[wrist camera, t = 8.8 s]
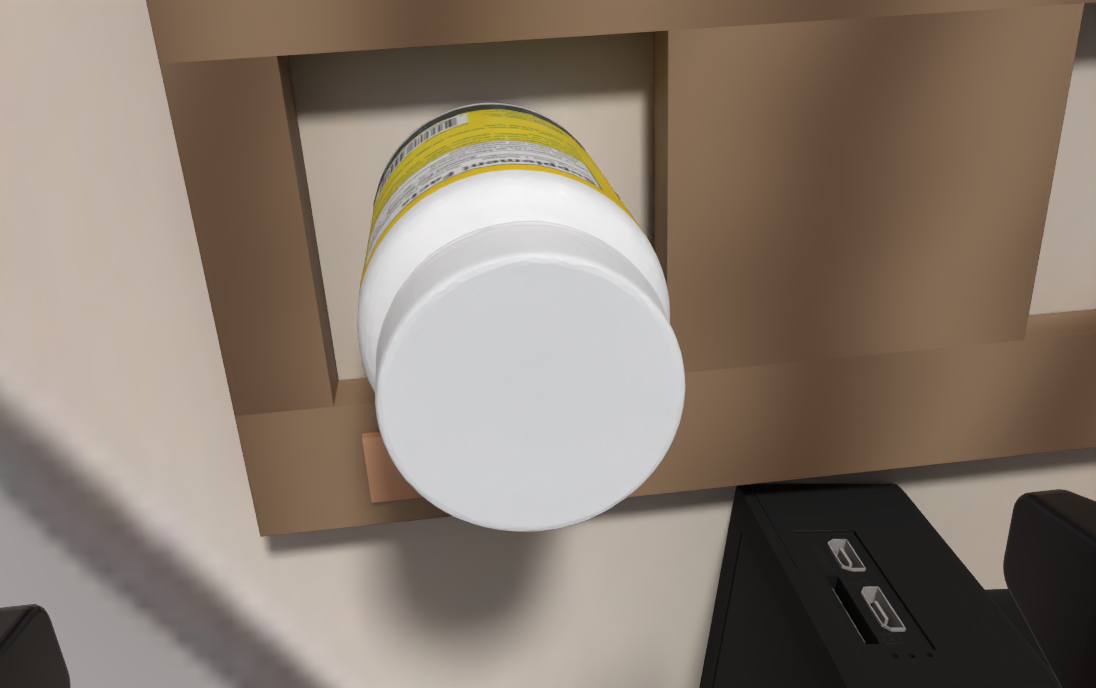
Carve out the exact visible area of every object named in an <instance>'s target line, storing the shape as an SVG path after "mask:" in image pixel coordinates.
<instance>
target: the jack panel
mask: <svg viewBox="0 0 1096 688" xmlns="http://www.w3.org/2000/svg"><path fill="white" fill-rule="evenodd" d="M146 2H147V7H148V12H149V17H150V21H151V26H152V31H153V35H154V40H155V45H156V49H157V54H158V59H159V63H160V68H161V73H162V77H163V82H164V87H165V91H166V96H167V101H168V106H169V110H170V115H171V120H172V124H173V129H174V134H175V138H176V143H177V148H178V152H179V157H180V162H181V166H182V171H183V176H184V180H185V185H186V190H187V194H188V199H189V204H190V209H191V213H192V218H193V223H194V227H195V232H196V237H197V241H198V246H199V251H200V255H201V260H202V265H203V269H204V274H205V279H206V283H207V288H208V293H209V298H210V302H211V307H212V312H213V316H214V321H215V326H216V330H217V335H218V340H219V344H220V349H221V354H222V358H223V363H224V368H225V372H226V377H227V382H228V387H229V391H230V396H231V401H232V405H233V410H234V415H235V419H236V424H237V429H238V433H239V438H240V443H241V447H242V452H243V457H244V461H245V466H246V471H247V475H248V480H249V485H250V490H251V494H252V499H253V504H254V508H255V513H256V518H257V522H258V527H259V532H260V536H261V537H262V536H271V535H281V534H290V533H299V532H308V531H318V530H327V529H336V528H346V527H355V526H364V525H374V524H383V523H392V522H402V521H411V520H420V519H430V518H439V517H448V516H452V515H450V514H448V513H446V512H444V511H443V510H441V509H439V508H438V507H436V506H435V505H433V504H432V503H431V502H429V501H428V500H426V499H425V498H424V497H423V496H422V495H420V494H419V493H418V492H417V491H416V490H415V489H414V488H413V487H412V486H411V485H410V484H409V483H408V482H407V481H406V480H405V478H404V477H403V476H402V474H401V473H400V471H399V470H398V469H397V467H396V466H395V464H394V463H393V461H392V459H391V457H390V456H389V453H388V451H387V449H386V447H385V445H384V443H383V440H382V437H381V434H380V430H379V427H378V422H377V416H376V407H375V392H374V390H373V388H372V386H371V384H370V382H369V381H368V378H361V379H351V380H340V381H339V380H338V374H337V367H336V361H335V355H334V348H333V342H332V336H331V329H330V323H329V317H328V310H327V304H326V298H325V291H324V285H323V279H322V273H321V266H320V260H319V254H318V247H317V241H316V235H315V228H314V222H313V216H312V209H311V203H310V197H309V190H308V184H307V178H306V171H305V165H304V159H303V152H302V146H301V140H300V133H299V127H298V121H297V114H296V108H295V102H294V95H293V89H292V83H291V76H290V70H289V64H288V58H287V55H300V54H315V53H330V52H346V51H361V50H376V49H392V48H407V47H422V46H438V45H453V44H468V43H484V42H499V41H514V40H530V39H545V38H561V37H576V36H591V35H607V34H622V33H637V32H653V31H654V251H655V253H656V255H657V257H658V260H659V263H660V265H661V268H662V271H663V274H664V277H665V281H666V285H667V289H668V295H669V304H670V325H671V327H672V329H673V331H674V333H675V336H676V339H677V341H678V345H679V348H680V351H681V354H682V359H683V365H684V372H685V398H684V407H683V411H682V416H681V420H680V424H679V426H678V429H677V432H676V434H675V437H674V439H673V441H672V443H671V445H670V447H669V449H668V451H667V453H666V455H665V456H664V458H663V460H662V461H661V462H660V464H659V465H658V466H657V468H656V469H655V470H654V472H653V473H652V474H651V475H650V476H649V477H648V478H647V479H646V481H645V482H644V483H643V484H642V485H641V486H640V487H639V488H637V489H636V490H635V491H634V492H633V493H631V494H630V495H629V496H628V497H635V496H644V495H653V494H663V493H672V492H681V491H691V490H700V489H709V488H719V487H728V486H737V485H747V484H756V483H765V482H775V481H784V480H793V479H803V478H812V477H821V476H830V475H840V474H849V473H858V472H868V471H877V470H886V469H896V468H905V467H914V466H924V465H933V464H942V463H952V462H961V461H970V460H980V459H989V458H998V457H1008V456H1017V455H1026V454H1036V453H1045V452H1054V451H1064V450H1073V449H1082V448H1091V447H1096V309H1094V310H1083V311H1073V312H1062V313H1051V314H1041V315H1030V316H1028V315H1029V310H1030V304H1031V299H1032V293H1033V287H1034V282H1035V276H1036V271H1037V265H1038V260H1039V254H1040V248H1041V243H1042V237H1043V232H1044V226H1045V221H1046V215H1047V209H1048V204H1049V198H1050V193H1051V187H1052V181H1053V176H1054V170H1055V165H1056V159H1057V154H1058V148H1059V142H1060V137H1061V131H1062V126H1063V120H1064V114H1065V109H1066V103H1067V98H1068V92H1069V87H1070V81H1071V75H1072V70H1073V64H1074V59H1075V53H1076V47H1077V42H1078V36H1079V31H1080V25H1081V20H1082V14H1083V8H1084V3H1096V0H146Z"/></svg>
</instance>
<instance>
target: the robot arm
mask: <svg viewBox="0 0 1096 688" xmlns="http://www.w3.org/2000/svg"><path fill="white" fill-rule="evenodd" d="M1003 570H1004V577H1005V581H1006V584H1007V587H1008V589H1009V591H1010V593H1011V595H1012V597H1013V599H1014V601H1015V603H1016V605H1017V606H1018V608H1019V610H1020V612H1021V614H1022V616H1023V618H1024V619H1025V621H1026V623H1027V625H1028V627H1029V629H1030V631H1031V633H1032V634H1033V636H1034V638H1035V640H1036V642H1037V644H1038V646H1039V648H1040V649H1041V651H1042V653H1043V655H1044V657H1045V659H1046V661H1047V662H1048V664H1049V666H1050V668H1051V670H1052V672H1053V674H1054V676H1055V677H1056V679H1057V681H1058V683H1059V685H1060V687H1061V688H1096V501H1093V500H1091V499H1088V498H1086V497H1083V496H1080V495H1078V494H1075V493H1073V492H1070V491H1067V490H1060V489H1058V490H1048V491H1040V492H1031V493H1025V494H1024V495H1022V496H1020V497H1019V498H1018V500H1017V501H1016V503H1015V505H1014V509H1013V514H1012V519H1011V524H1010V530H1009V535H1008V540H1007V545H1006V551H1005V556H1004V563H1003ZM0 688H70V677H69V673H68V670H67V667H66V664H65V661H64V658H63V655H62V652H61V649H60V646H59V643H58V640H57V637H56V634H55V632H54V628H53V626H52V622H51V620H50V617H49V615H48V614H47V612H46V611H45V609H44V608H42V607H41V606H38V605H36V604H30V605H21V606H12V607H4V608H0Z"/></svg>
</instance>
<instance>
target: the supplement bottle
mask: <svg viewBox="0 0 1096 688" xmlns="http://www.w3.org/2000/svg"><path fill="white" fill-rule="evenodd" d="M357 326H358V339H359V346H360V353H361V358H362V363H363V366H364V369H365V372H366V375H367V378H368V381H369V382H370V384H371V386H372V388H373V390H374V392H375V407H376V416H377V422H378V427H379V430H380V434H381V437H382V440H383V443H384V445H385V447H386V449H387V451H388V453H389V456H390V457H391V459H392V461H393V463H394V464H395V466H396V467H397V469H398V470H399V471H400V473H401V474H402V476H403V477H404V478H405V480H406V481H407V482H408V483H409V484H410V485H411V486H412V487H413V488H414V489H415V490H416V491H417V492H418V493H419V494H420V495H422V496H423V497H424V498H425V499H426V500H428V501H429V502H431V503H432V504H433V505H435V506H436V507H438V508H439V509H441V510H443V511H444V512H446V513H448V514H450V515H452V516H454V517H456V518H458V519H460V520H463V521H466V522H469V523H471V524H475V525H479V526H483V527H487V528H492V529H497V530H504V531H514V532H516V531H523V532H533V531H544V530H551V529H558V528H562V527H566V526H569V525H573V524H576V523H579V522H583V521H586V520H588V519H590V518H592V517H594V516H596V515H599V514H601V513H603V512H605V511H606V510H608V509H610V508H612V507H613V506H614V505H616V504H617V503H619V502H620V501H622V500H624V499H625V498H627V497H628V496H629V495H630V494H631V493H633V492H634V491H635V490H636V489H637V488H639V487H640V486H641V485H642V484H643V483H644V482H645V481H646V479H647V478H648V477H649V476H650V475H651V474H652V473H653V472H654V470H655V469H656V468H657V466H658V465H659V464H660V462H661V461H662V460H663V458H664V456H665V455H666V453H667V451H668V449H669V447H670V445H671V443H672V441H673V439H674V437H675V434H676V432H677V429H678V426H679V424H680V420H681V416H682V411H683V407H684V398H685V372H684V365H683V359H682V354H681V351H680V348H679V345H678V341H677V339H676V336H675V333H674V331H673V329H672V327H671V325H670V304H669V295H668V289H667V285H666V281H665V277H664V274H663V271H662V268H661V265H660V263H659V260H658V257H657V255H656V253H655V251H654V249H653V247H652V245H651V243H650V242H649V240H648V238H647V237H646V235H645V234H644V232H643V231H642V229H641V228H640V226H639V225H638V223H637V222H636V221H635V220H634V218H633V217H632V215H631V214H630V212H629V211H628V210H627V208H626V207H625V206H624V204H623V203H622V201H621V199H620V198H619V196H618V195H617V194H616V193H615V192H614V190H613V189H612V187H611V186H610V184H609V183H608V181H607V180H606V178H605V177H604V176H603V174H602V173H601V171H600V170H599V169H598V167H597V166H596V164H595V163H594V161H593V160H592V159H591V157H590V156H589V155H588V153H587V152H586V151H585V149H584V148H583V147H582V146H581V144H580V143H579V142H578V141H577V140H576V139H575V138H574V137H573V136H572V135H571V134H570V133H569V132H568V131H567V130H565V129H564V128H563V127H562V126H560V125H559V124H557V123H556V122H554V121H553V120H551V119H550V118H548V117H546V116H544V115H542V114H540V113H537V112H535V111H533V110H530V109H527V108H524V107H520V106H516V105H510V104H503V103H479V104H472V105H467V106H462V107H459V108H455V109H452V110H450V111H447V112H444V113H442V114H440V115H438V116H436V117H434V118H432V119H430V120H429V121H427V122H425V123H424V124H423V125H421V126H420V127H419V128H417V129H416V130H415V131H414V132H413V133H411V134H410V135H409V136H408V137H407V138H406V139H405V140H404V141H403V142H402V144H401V145H400V146H399V147H398V149H397V150H396V151H395V153H394V154H393V155H392V157H391V159H390V160H389V162H388V164H387V166H386V168H385V170H384V172H383V175H382V177H381V179H380V183H379V185H378V189H377V193H376V196H375V200H374V209H373V217H372V223H371V229H370V236H369V240H368V247H367V252H366V258H365V263H364V268H363V273H362V278H361V284H360V291H359V304H358V320H357Z"/></svg>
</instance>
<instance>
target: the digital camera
mask: <svg viewBox="0 0 1096 688" xmlns="http://www.w3.org/2000/svg"><path fill="white" fill-rule="evenodd" d="M750 486H751V487H750ZM751 488H752V489H753V491H754V492H753V491H752V489H751ZM754 493H755V494H754ZM755 495H756V496H757V498H758V499H757V498H756V496H755ZM758 500H759V501H758ZM759 502H760V503H761V505H762V506H761V505H760V503H759ZM762 507H763V508H762ZM763 509H764V510H765V512H766V513H765V512H764V510H763ZM766 514H767V515H766ZM767 516H768V517H769V519H770V520H769V519H768V517H767ZM770 521H771V522H770ZM771 523H772V524H771ZM772 525H773V526H774V527H773V526H772ZM774 528H775V529H774ZM775 530H776V531H775ZM776 532H777V533H778V534H777V533H776ZM778 535H779V536H778ZM779 537H780V538H779ZM780 539H781V540H780ZM782 542H783V543H782ZM783 544H784V545H783ZM784 546H785V547H784ZM786 549H787V550H786ZM787 551H788V552H787ZM788 553H789V554H788ZM700 688H1061V687H1060V685H1059V683H1058V681H1057V679H1056V677H1055V676H1054V674H1053V672H1052V670H1051V668H1050V666H1049V664H1048V662H1047V661H1046V659H1045V657H1044V655H1043V653H1042V651H1041V649H1040V648H1039V646H1038V644H1037V642H1036V640H1035V638H1034V636H1033V634H1032V633H1031V631H1030V629H1029V627H1028V625H1027V623H1026V621H1025V619H1024V618H1023V616H1022V614H1021V612H1020V610H1019V608H1018V606H1017V605H1016V603H1015V601H1014V599H1013V597H1012V595H1011V593H1010V591H1009V589H995V590H984V588H983V587H982V586H981V585H980V584H979V582H978V581H977V580H976V579H975V577H974V576H973V575H972V574H971V573H970V571H969V570H968V569H967V568H966V566H965V565H964V564H963V563H962V562H961V560H960V559H959V558H958V557H957V555H956V554H955V553H954V552H953V551H952V549H951V548H950V547H949V546H948V544H947V543H946V542H945V541H944V540H943V538H942V537H941V536H940V535H939V534H938V532H937V531H936V530H935V529H934V527H933V526H932V525H931V524H930V523H929V521H928V520H927V519H926V518H925V516H924V515H923V514H922V513H921V512H920V510H919V509H918V508H917V507H916V505H915V504H914V503H913V502H912V501H911V499H910V498H909V497H908V496H907V494H906V493H905V492H904V491H903V490H902V489H901V488H900V487H899V486H898V485H897V484H892V483H891V484H747V485H737V486H736V491H735V497H734V502H733V508H732V513H731V519H730V524H729V530H728V535H727V541H726V546H725V551H724V557H723V562H722V568H721V573H720V579H719V584H718V590H717V595H716V601H715V606H714V612H713V617H712V623H711V628H710V634H709V639H708V645H707V650H706V655H705V661H704V666H703V672H702V677H701V683H700Z"/></svg>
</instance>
